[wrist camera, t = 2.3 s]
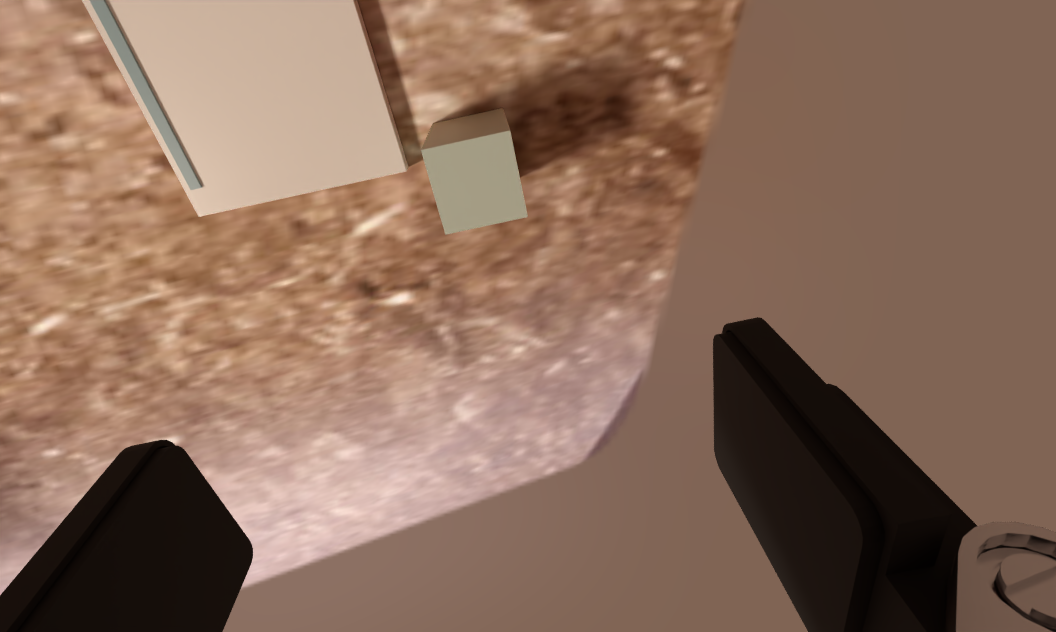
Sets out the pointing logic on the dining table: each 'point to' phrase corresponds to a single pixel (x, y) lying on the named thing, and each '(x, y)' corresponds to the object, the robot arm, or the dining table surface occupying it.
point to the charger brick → (474, 171)
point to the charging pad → (255, 94)
